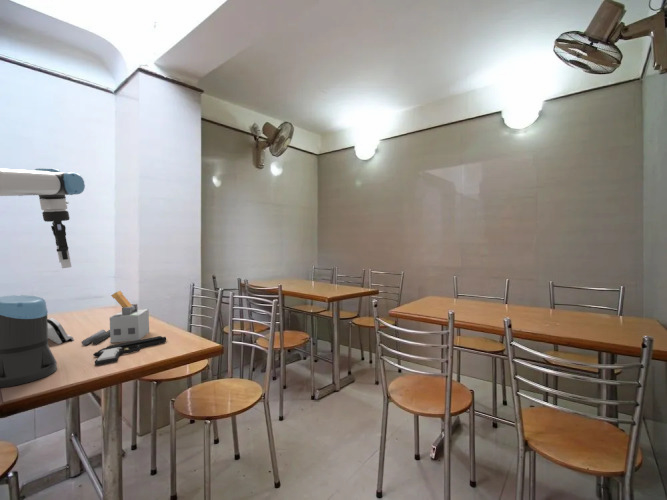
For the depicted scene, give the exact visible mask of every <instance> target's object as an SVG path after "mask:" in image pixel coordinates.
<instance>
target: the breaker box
mask: <svg viewBox="0 0 667 500" xmlns="http://www.w3.org/2000/svg"><path fill="white" fill-rule="evenodd" d="M130 304H131V305H134V306H135V308H136V309H135V310H134V311H132V312H131V307H121V311H120V312H117V313H115V314H113V315H112V316H109V330H110V336H109V338H110V339H109V340H110V341H109V343H111V344H112V343H125V342H131V341H136V340H141V339H144V337H145V336H147V334H149V333H150V315H149V313H150V312H149V311H150V310H149V308H148V309H146V308H145V309H138V303H130Z"/></svg>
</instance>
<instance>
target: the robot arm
mask: <svg viewBox="0 0 667 500" xmlns="http://www.w3.org/2000/svg"><path fill="white" fill-rule="evenodd" d="M85 187H86V185H85V180H84V178H83V177H82V175H80V174H79V173H77V172H69V171H66V172H61V170H59V169H57V168H44V167H43V168H41V167H40V168H35V169H34V170H29V169H28V170H27V169H16V168H15V169H13V168H11V169H10V168H0V197H16V196H18V197H23V196H38V198H39V199H38V200H39V203H40V209H41V210H42V212H41V213H42V218H43V221H44V222H45V223H46V222H47V223H48V222H52V223H51V224H52V225H50V227H51V231H52V234H53V236H54V239H55V245H56V252H57V256H58V260H59V263H60V264H61V269H66V268H67V269H68V268H72V262H71V257H70V252H69V251H70V250H69V246H68V242H67V241H68V240H67V237H66V236H67V232H66V229H67V227H66V225H65V224H63V223H62V222H65V221H69V220H70V219H71V218H70V215H69V214H70V213H69V211H68V205H67V204H69V203H70V202H69V201H67V198H66V196H68V195H69V196H73V195H74V196H75V195H80V194H82V193H83V192H84V191H85V189H86V188H85ZM47 319H48V308H47V302H46V300H45V299H44V298H43V297H40V296H37V295H36V296H35V295H22V294H21V295H4V296H0V388H7V387H13V386H18V385H23V384H27V383H31V382H34V381H37V380H39V379H42V378H45V377H48V376H49V375H52V374H53V373H54V372H56V370H57V369H58V367H57V360H56V357H55V356H54V354H53V353H52V350H51V349H50V348H51V347H50V346H49V339H48V321H47Z"/></svg>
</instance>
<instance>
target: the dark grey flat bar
mask: <svg viewBox="0 0 667 500" xmlns="http://www.w3.org/2000/svg"><path fill="white" fill-rule="evenodd" d="M108 338H110V329H109V330H107V331H106V330H105V329H101V330H99V331H97V332H95V333H93V334H92V335H90V336H88V337H87V338H84V339H83V340H82V341H81V344H82V345H83V346H88V345H89V344H92V345H95V346H96V345H98V344H99V343H101V342H102V341H104V340H106V339H108Z"/></svg>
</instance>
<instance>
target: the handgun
mask: <svg viewBox="0 0 667 500" xmlns="http://www.w3.org/2000/svg"><path fill="white" fill-rule="evenodd" d="M166 341H167V336H162V335H158V336H154V337H147V338H141V339H140V340H136V341H125V342H119V343H117V344H115V343H114V344H110V345H107V346H106V347H103V348H102V349H99V350H98V351H96V352H94V353H93V355H92V356H93V357H94V358H95V357H97V358H96V359H95V360H94V364H95V365H96V366H100V365H101V366H102V365H106V364H107V365H108V364H111V363H115V362H118V360H119V358H118V357H119V356H122V355H126V354H131V353H135V352H139V351H140V349H144V348H147V347H154V346H157V345H162V344H165V343H166Z"/></svg>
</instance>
